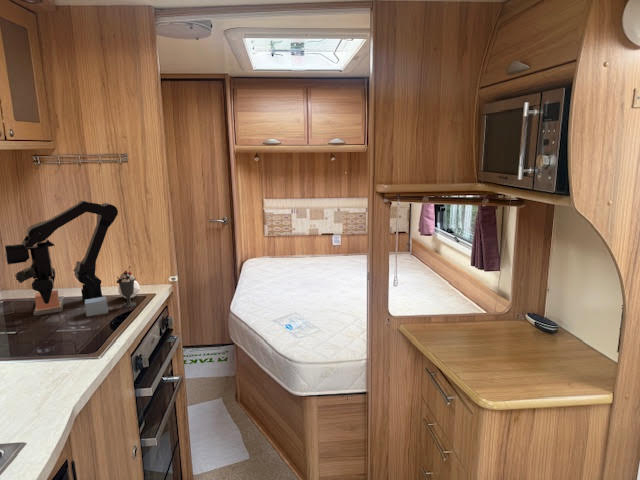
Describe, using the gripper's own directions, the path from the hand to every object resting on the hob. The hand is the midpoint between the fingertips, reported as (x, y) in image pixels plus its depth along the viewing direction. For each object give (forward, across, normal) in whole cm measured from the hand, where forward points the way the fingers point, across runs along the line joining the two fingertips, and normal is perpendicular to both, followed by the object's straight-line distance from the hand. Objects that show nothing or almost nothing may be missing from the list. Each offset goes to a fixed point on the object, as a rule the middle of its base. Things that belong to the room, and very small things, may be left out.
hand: (47, 299), depth 166 cm
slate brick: (+4, +13, +16) cm, 21 cm away
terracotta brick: (+2, 0, 0) cm, 3 cm away
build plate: (+4, -3, 0) cm, 5 cm away
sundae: (+4, +11, +27) cm, 29 cm away
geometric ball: (+4, +2, +28) cm, 28 cm away
